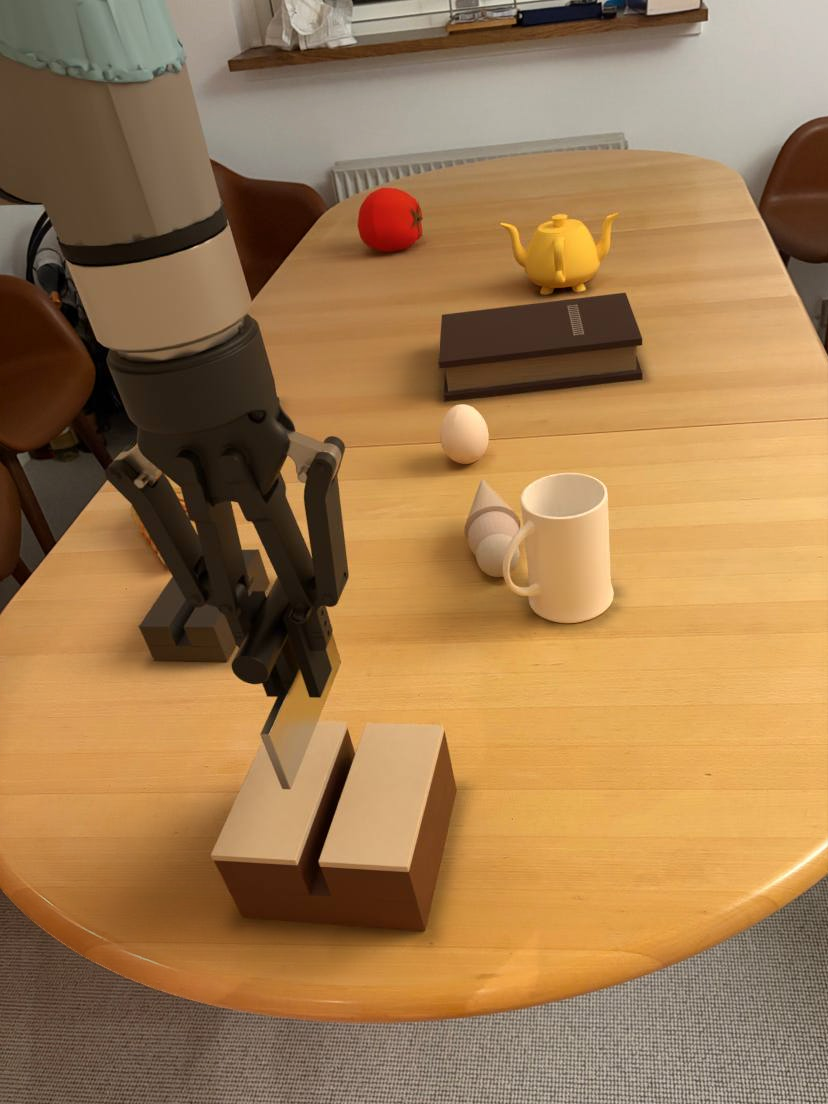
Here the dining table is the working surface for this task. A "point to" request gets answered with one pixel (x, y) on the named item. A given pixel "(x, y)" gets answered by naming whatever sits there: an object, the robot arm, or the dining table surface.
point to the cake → (343, 829)
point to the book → (539, 347)
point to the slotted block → (194, 622)
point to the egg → (464, 434)
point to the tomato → (389, 220)
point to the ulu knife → (293, 705)
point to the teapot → (561, 253)
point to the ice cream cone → (491, 531)
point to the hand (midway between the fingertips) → (299, 682)
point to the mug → (565, 547)
